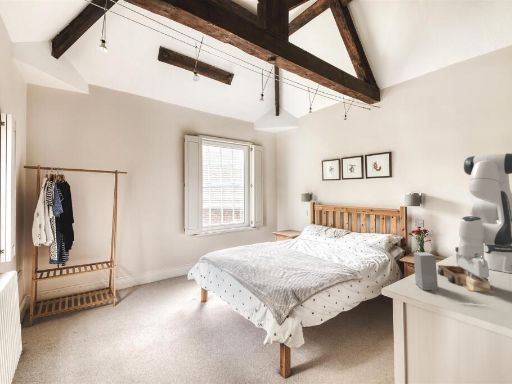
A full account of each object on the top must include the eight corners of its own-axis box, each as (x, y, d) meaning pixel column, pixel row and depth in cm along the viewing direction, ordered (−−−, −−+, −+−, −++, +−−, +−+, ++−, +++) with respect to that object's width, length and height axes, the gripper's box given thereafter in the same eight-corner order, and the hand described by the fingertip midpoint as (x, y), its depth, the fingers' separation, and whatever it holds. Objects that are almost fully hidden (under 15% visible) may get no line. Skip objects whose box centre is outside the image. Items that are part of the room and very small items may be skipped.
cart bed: (467, 275, 138) (467, 266, 138) (491, 289, 117) (491, 279, 117) (435, 272, 142) (435, 264, 142) (454, 286, 121) (454, 276, 121)
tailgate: (485, 286, 118) (494, 292, 111) (485, 288, 118) (494, 294, 111) (461, 284, 120) (469, 290, 114) (461, 286, 120) (469, 292, 114)
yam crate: (481, 286, 117) (481, 276, 117) (489, 291, 112) (489, 281, 112) (466, 285, 119) (466, 275, 119) (473, 290, 113) (473, 279, 113)
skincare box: (438, 291, 115) (438, 255, 115) (420, 290, 116) (420, 255, 117) (429, 284, 123) (429, 251, 123) (413, 283, 125) (413, 251, 125)
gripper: (493, 257, 109) (494, 290, 109) (467, 247, 129) (468, 275, 129) (475, 256, 111) (476, 288, 111) (453, 246, 130) (453, 274, 130)
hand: (471, 281), depth 120 cm, fingers closed
